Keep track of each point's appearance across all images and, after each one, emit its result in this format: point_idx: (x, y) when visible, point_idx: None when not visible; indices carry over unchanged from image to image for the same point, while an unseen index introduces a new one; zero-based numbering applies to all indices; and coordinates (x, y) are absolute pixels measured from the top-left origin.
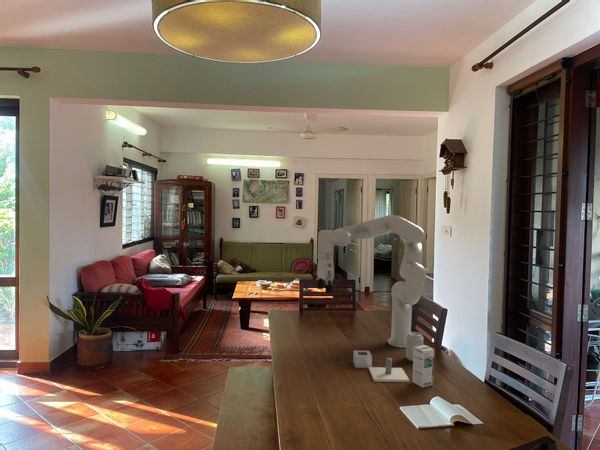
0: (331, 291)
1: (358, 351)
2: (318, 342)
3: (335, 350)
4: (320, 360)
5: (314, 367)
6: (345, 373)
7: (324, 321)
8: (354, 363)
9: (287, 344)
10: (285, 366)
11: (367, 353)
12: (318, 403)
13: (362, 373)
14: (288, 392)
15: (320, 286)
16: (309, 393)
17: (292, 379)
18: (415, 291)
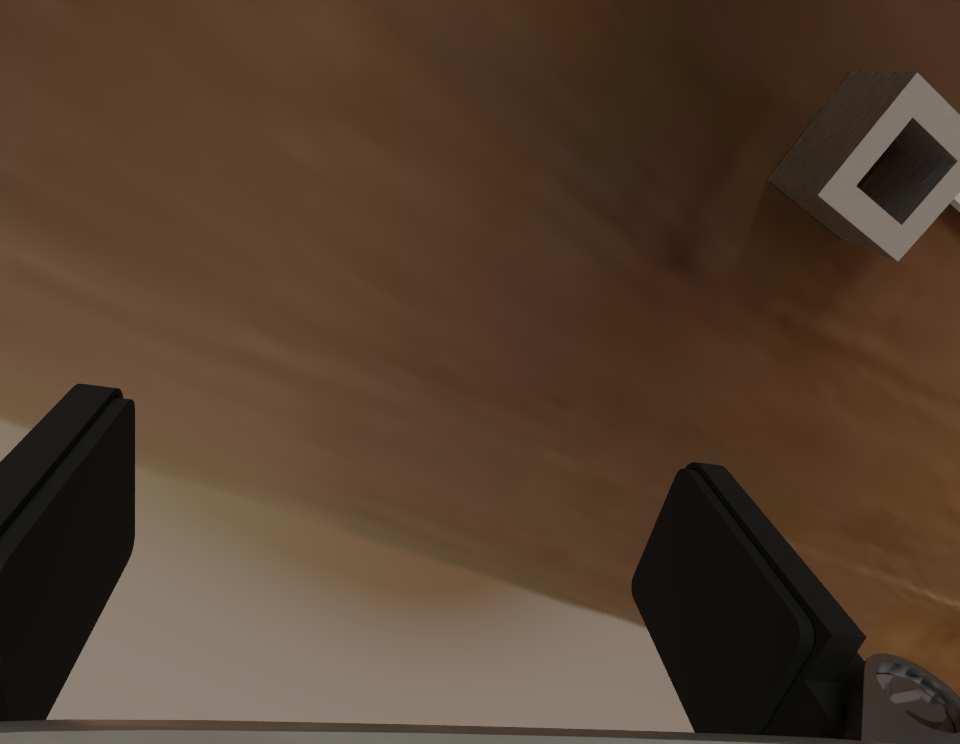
0: (730, 491)
1: (858, 172)
2: (275, 159)
3: (520, 148)
4: (614, 366)
5: (674, 449)
6: (847, 346)
7: None
8: (820, 219)
9: (228, 413)
10: (571, 565)
11: (936, 135)
12: (934, 592)
13: (921, 257)
14: None
15: (106, 533)
16: (858, 587)
17: None
18: None
